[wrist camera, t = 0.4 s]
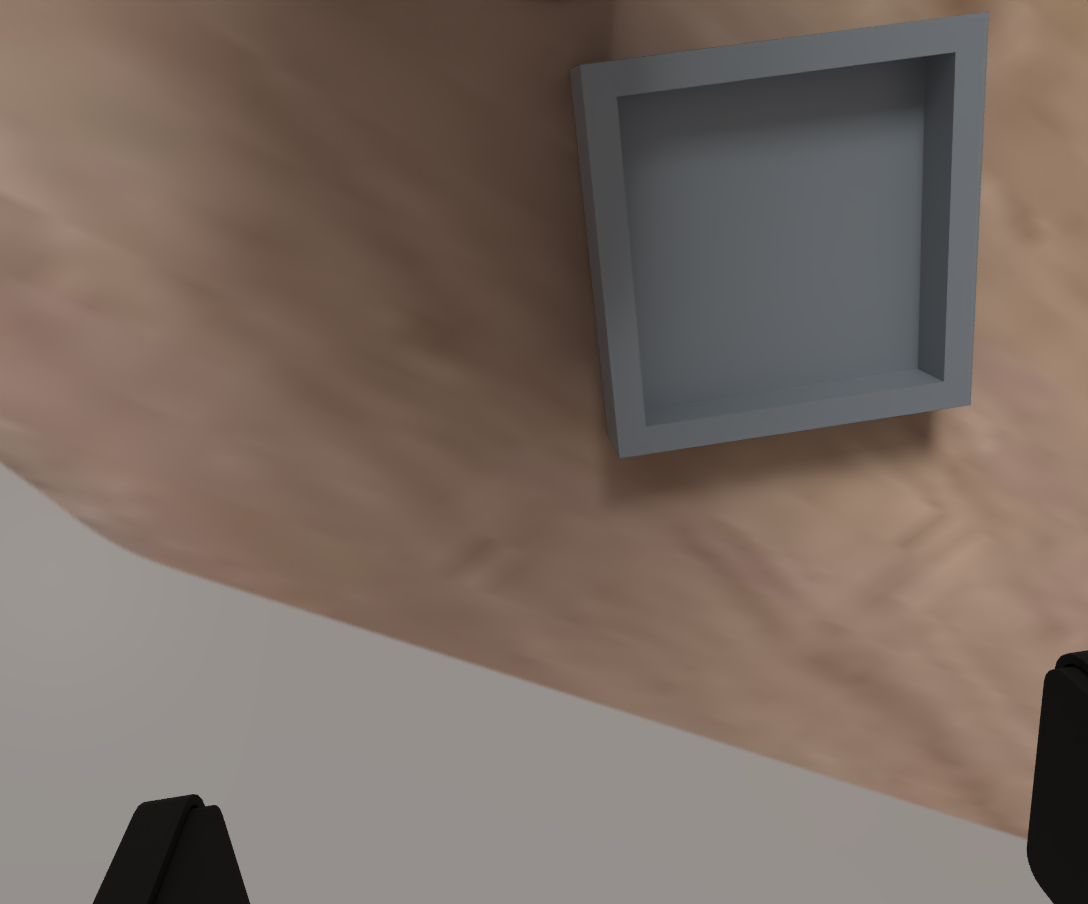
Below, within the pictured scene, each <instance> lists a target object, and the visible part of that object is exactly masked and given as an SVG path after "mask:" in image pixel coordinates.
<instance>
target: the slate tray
mask: <svg viewBox="0 0 1088 904" xmlns="http://www.w3.org/2000/svg"><path fill="white" fill-rule="evenodd" d="M988 22H989V12H983V13H975V14H968V15H960V16H952V17H944V18H937V19H929V20H921V21H914V22H906V23H898V24H890V25H883V26H875V27H867V28H860V29H852V30H844V31H837V32H829V33H821V34H813V35H806V36H798V37H790V38H783V39H775V40H767V41H759V42H752V43H744V44H736V45H729V46H721V47H713V48H705V49H698V50H690V51H682V52H675V53H667V54H659V55H651V56H644V57H636V58H628V59H621V60H613V61H605V62H597V63H590V64H582V65H579V66H577V67H575V68H573V69H571V70H569V71H570V81H571V90H572V100H573V109H574V119H575V128H576V138H577V147H578V157H579V167H580V176H581V186H582V195H583V205H584V214H585V224H586V233H587V243H588V252H589V262H590V271H591V281H592V290H593V300H594V310H595V319H596V329H597V338H598V348H599V357H600V367H601V376H602V386H603V395H604V405H605V414H606V424H607V434H608V437H609V439H610V441H611V443H612V445H613V446H614V448H615V450H616V452H617V454H618V456H619V458H627V457H633V456H640V455H646V454H653V453H659V452H666V451H672V450H679V449H685V448H692V447H699V446H705V445H712V444H718V443H725V442H731V441H738V440H744V439H751V438H758V437H764V436H771V435H777V434H784V433H790V432H797V431H803V430H810V429H816V428H823V427H830V426H836V425H843V424H849V423H856V422H862V421H869V420H875V419H882V418H889V417H895V416H902V415H908V414H915V413H921V412H928V411H934V410H941V409H947V408H954V407H961V406H967V405H971V385H972V364H973V342H974V321H975V300H976V278H977V257H978V236H979V214H980V193H981V172H982V150H983V129H984V107H985V86H986V65H987V43H988Z"/></svg>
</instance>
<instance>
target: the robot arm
mask: <svg viewBox="0 0 1088 904" xmlns="http://www.w3.org/2000/svg"><path fill="white" fill-rule="evenodd" d="M1027 857H1028V862H1029V865H1030V868H1031V871H1032V873H1033V875H1034V877H1035V879H1036V881H1037V882H1038V883H1039V885H1040V887H1041V888H1042V889H1043V891H1044V892H1045V893H1046V894H1047V896H1048V897H1049V898H1050V900H1051V901H1052V902H1053V903H1054V904H1088V650H1087V651H1081V652H1075V653H1068V654H1065V655H1062V656H1061V657H1060V658H1059V659H1058V661H1057V662H1056V666H1055V669H1053V670H1050V671H1048V673H1047V674H1046V676H1045V680H1044V687H1043V696H1042V706H1041V716H1040V725H1039V735H1038V744H1037V754H1036V764H1035V773H1034V783H1033V793H1032V802H1031V812H1030V822H1029V831H1028V841H1027ZM93 904H250V902H249V899H248V895H247V893H246V889H245V886H244V883H243V879H242V876H241V873H240V870H239V866H238V863H237V860H236V857H235V854H234V850H233V847H232V844H231V841H230V837H229V834H228V831H227V828H226V825H225V821H224V818H223V815H222V813H221V810H220V808H219V807H218V806H216V805H212V806H205V805H204V803H203V800H202V799H201V798H200V797H199V796H198V795H195V794H192V795H186V796H180V797H173V798H167V799H161V800H155V801H148V802H143V803H142V804H140V805H139V806H138V808H137V809H136V811H135V813H134V814H133V817H132V819H131V821H130V823H129V825H128V827H127V830H126V832H125V834H124V836H123V838H122V841H121V843H120V845H119V847H118V849H117V852H116V854H115V856H114V858H113V860H112V862H111V865H110V867H109V869H108V871H107V873H106V876H105V878H104V880H103V882H102V884H101V887H100V889H99V891H98V893H97V895H96V897H95V900H94V902H93Z"/></svg>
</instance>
